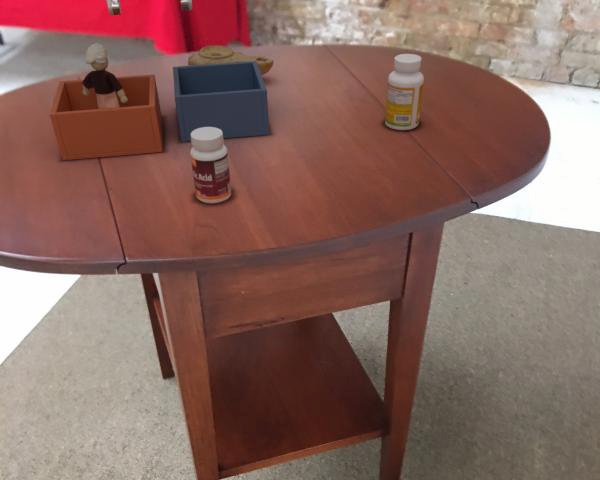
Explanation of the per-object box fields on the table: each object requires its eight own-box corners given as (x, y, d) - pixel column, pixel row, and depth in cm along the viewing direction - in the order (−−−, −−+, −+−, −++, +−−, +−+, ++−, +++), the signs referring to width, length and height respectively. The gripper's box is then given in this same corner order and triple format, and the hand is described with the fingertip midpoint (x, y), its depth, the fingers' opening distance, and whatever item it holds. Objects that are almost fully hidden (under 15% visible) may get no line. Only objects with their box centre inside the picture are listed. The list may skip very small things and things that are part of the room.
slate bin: (181, 142, 97) (174, 97, 92) (179, 108, 107) (172, 66, 102) (269, 134, 98) (266, 90, 94) (259, 102, 108) (256, 60, 103)
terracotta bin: (62, 160, 93) (49, 114, 89) (71, 124, 103) (59, 81, 98) (162, 152, 95) (154, 106, 90) (161, 117, 104) (154, 74, 100)
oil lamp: (276, 84, 114) (275, 53, 111) (198, 94, 111) (194, 63, 107) (260, 65, 121) (258, 36, 118) (186, 75, 118) (182, 45, 115)
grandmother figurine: (142, 130, 99) (125, 40, 90) (132, 140, 96) (114, 49, 87) (96, 127, 100) (75, 38, 91) (86, 136, 98) (62, 46, 89)
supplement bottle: (403, 114, 103) (410, 49, 96) (425, 125, 100) (434, 58, 93) (377, 122, 101) (382, 56, 94) (399, 134, 98) (405, 66, 91)
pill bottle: (188, 197, 84) (179, 134, 79) (213, 184, 87) (205, 122, 81) (215, 208, 82) (207, 144, 76) (239, 193, 85) (233, 130, 79)
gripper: (49, -110, 79) (64, 0, 79) (212, -118, 81) (226, -11, 81) (63, -72, 86) (76, 29, 86) (214, -81, 88) (227, 18, 88)
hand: (151, 10), depth 84 cm, fingers open, 8 cm apart
